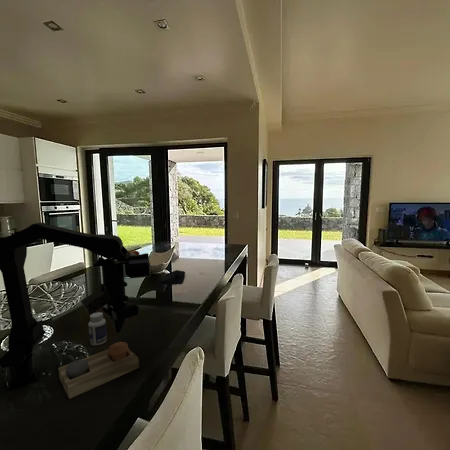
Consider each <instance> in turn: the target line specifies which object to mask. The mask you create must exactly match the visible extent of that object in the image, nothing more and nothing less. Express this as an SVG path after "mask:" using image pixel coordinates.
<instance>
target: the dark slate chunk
mask: <svg viewBox="0 0 450 450" xmlns="http://www.w3.org/2000/svg"><path fill="white" fill-rule="evenodd" d="M185 274H186V271H184V270H179V269H176V270H173V271H171V272H168V273H166V274H165V275H164V276H162V277H161V278H160V279H159V280H158V281H156V285H158V284H165V285H164V286H174V284H175V286H176V285H182V284H183V283H184V279H185V277H186V275H185Z"/></svg>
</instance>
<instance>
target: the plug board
mask: <svg viewBox="0 0 450 450" xmlns="http://www.w3.org/2000/svg"><path fill="white" fill-rule="evenodd" d="M80 360H87V361H88V367H89V368H88V370H87V371H86V374H83V375H81V376H78V377H76V378H74V379H71V380H70V377H69V376H67V374H66V367H67V366H68V365H69V364H70V363H68V364H65V365H63V366H61V367H58V368H57V370H58V379H59V381H60V383H61V385H62V387H63V389H64V391H65V393H66V395H67V397H68V399H69V400H71V399H73V398H75V397H77V396H79V395H82V394H83V393H84V394H85V393H86V392H88V391H91V390H93V389H94V388H95V389H96V388H98V387H99V386H102V385H104V384H106V383H108V382H111V381H112V380H114V379H117V378H119V377H121V376H124V375H126V374H128V373H130V372H133V371H134V370H137V369H139V368H140V363H139V357H138V355H136V354H135V353H134V352H133V351H132V350H130V348H128V351H127V352H126V357H125V358H122V359H120V360H117V361H115V362H113V361H112V357H111V356H110V355H109V348H107V349H105V350H103V351H100V352H97V353H95V354H93V355H90V356H87V357H85V358H82V359H80Z"/></svg>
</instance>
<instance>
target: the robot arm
mask: <svg viewBox="0 0 450 450" xmlns="http://www.w3.org/2000/svg"><path fill="white" fill-rule="evenodd" d="M40 239H41V240H43V241H48V242H54V243H58V244H62V245H67V246H72V247H77V248H82V249H84V250H87V251H89V252H91V253H93V254H95V255H96V256H99V257H98V259H97V260H96V261H95V262H94V264H93V267H101V275H102V277H101V278H102V283H100V285H99V289H98V290H97V291H95V292H92V293H91V294H90V295H88V296H85V298H83V299H81V301H80V303H81V304H82V306H83V308H84V310H85V312H87V313H88V314H89V315H91V314H93V313H97V312H98V311H99V310H101V311H103V312H104V313H105V314H107V316H109V318H110V321H111V325H112V328H113V329H114V332H115V333H117V334H118V333H120V332H121V331H122V328H123V326H124V324H125V321H126V319H128V318H132V317H134V316H137V315H140V306H138V305H137V304H135V303H134V302H133V301H130V300H129V296H128V295H127V294H126V287H128V282H126V281H125V278H124V268H123V264H125V273H126V275H127V276H128V277H130V278H129V279H140V278H150V277H151V271H152V270H151V262H150V257H149V253H148V252H147V253H145V252H144V253H141V254H140V253H139V255H131V254H130V253H129V252H128V251H129V250H128V249H127V248H126V247H125V246H124V243H123V240H122V238H121V237H119V236H118V235H114V234H104V233H103V234H96V233H95V234H94V233H93V234H92V233H86V232H82V231H78V230H73V229H69V228H64V227H60V226H55V225H52V224H49V223H46V222H41V221H40V222H35V223H33V224H31V225H29V226H27V227H25V228H23V229H22V230H20V231H18V232H15V233H13V234H10V235H6V236H2V237H0V272H1V275H2V280H3V284H4V290H5V296H6V301H7V306H8V311H9V316H10V320H11V326H10V331H9V333H8V339H7V340H8V341H7V344H8V347H7V348H8V350H7V351H6V353H5V354H3V355H2V357H0V368H2V369H3V368H7V375H8V376H6V382H7V389H8V390H12V389H15V388H17V387H20V386H23V385H25V384H28V383H31V382H33V381H36V380H38V379H39V376H38V373H37V370H36V367H35V364H34V354H33V352H34V351H35V350H36V349H37V348H38V345H39V344H40V343H41V342H42V340H43V338H44V335H45V334H46V330H45V328H44V321H43V320H42V319H41V320H38V321H37V319H36V318H35V317H34V316H33V310H32V305H31V300H30V294H29V290H28V284H27V283H28V282H27V279H26V278H27V277H26V272H25V265H26V264H25V263H26V260H27V256H28V255H27V254H28V246H30V245H32V244H35V243H36V242H37V241H39V240H40Z"/></svg>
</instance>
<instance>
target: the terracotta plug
mask: <svg viewBox="0 0 450 450" xmlns="http://www.w3.org/2000/svg"><path fill="white" fill-rule="evenodd" d="M128 346H129V345H128V343H127V342H126V341H125V342H124V341H119V342H114V343H113V344H110V346H109V347H108V349H109V355H110V356H111V357H112V361H113V362H115V361H117V360H120V359H122V358H125V357H126V352H127V351H128V349H129V347H128Z"/></svg>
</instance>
